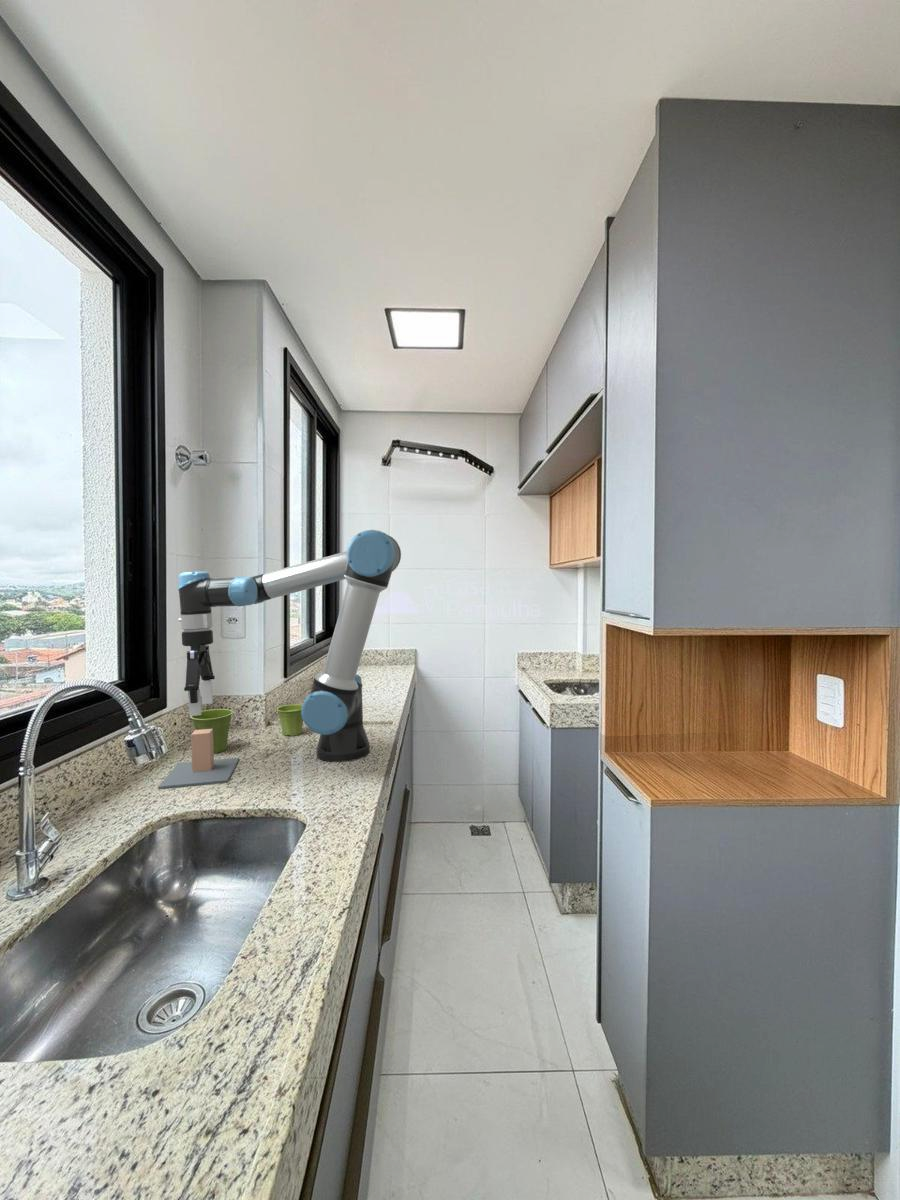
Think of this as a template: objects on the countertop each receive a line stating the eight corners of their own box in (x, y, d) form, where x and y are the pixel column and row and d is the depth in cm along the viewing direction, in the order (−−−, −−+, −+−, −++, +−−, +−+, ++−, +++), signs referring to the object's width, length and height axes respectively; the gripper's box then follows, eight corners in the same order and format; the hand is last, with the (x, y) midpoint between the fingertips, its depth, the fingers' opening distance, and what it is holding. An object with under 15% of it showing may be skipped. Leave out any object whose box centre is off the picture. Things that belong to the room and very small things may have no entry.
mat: (239, 759, 156) (239, 757, 155) (227, 782, 138) (227, 780, 138) (178, 765, 152) (178, 762, 152) (158, 789, 135) (158, 786, 135)
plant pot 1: (182, 756, 160) (181, 718, 159) (207, 744, 171) (206, 708, 171) (219, 758, 157) (218, 719, 157) (242, 745, 169) (241, 709, 169)
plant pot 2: (299, 728, 187) (298, 702, 187) (312, 733, 180) (311, 707, 180) (273, 733, 181) (272, 707, 181) (284, 739, 174) (283, 712, 174)
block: (214, 764, 150) (212, 728, 149) (210, 770, 145) (209, 733, 145) (196, 766, 149) (194, 730, 148) (192, 772, 144) (190, 734, 144)
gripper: (193, 627, 157) (197, 700, 158) (168, 635, 132) (173, 722, 133) (221, 625, 158) (225, 698, 159) (201, 633, 134) (206, 719, 135)
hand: (201, 709), depth 146 cm, fingers open, 13 cm apart
